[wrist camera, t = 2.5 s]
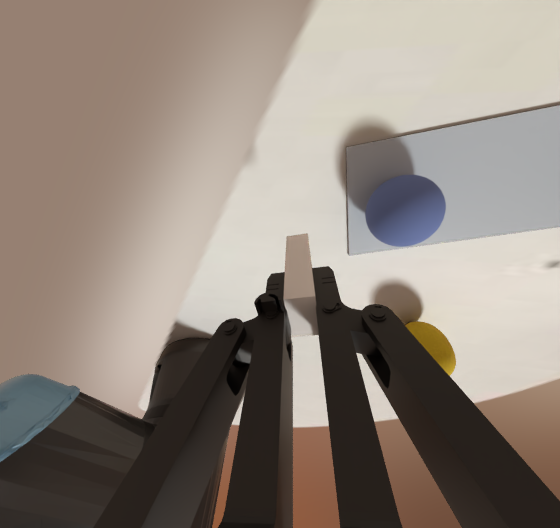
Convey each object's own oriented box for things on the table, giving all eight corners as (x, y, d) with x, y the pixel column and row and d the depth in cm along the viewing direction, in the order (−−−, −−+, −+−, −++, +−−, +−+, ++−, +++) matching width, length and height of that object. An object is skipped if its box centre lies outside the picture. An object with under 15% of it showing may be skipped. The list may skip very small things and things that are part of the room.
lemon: (380, 325, 31) (405, 381, 24) (415, 302, 29) (453, 358, 22) (404, 341, 33) (433, 398, 26) (439, 321, 30) (481, 379, 24)
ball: (357, 233, 24) (376, 264, 19) (357, 174, 21) (380, 193, 16) (417, 224, 23) (453, 254, 18) (427, 162, 20) (474, 177, 15)
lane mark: (348, 254, 25) (348, 255, 25) (346, 147, 19) (346, 147, 19) (656, 212, 21) (659, 213, 21) (769, 63, 16) (774, 62, 15)
